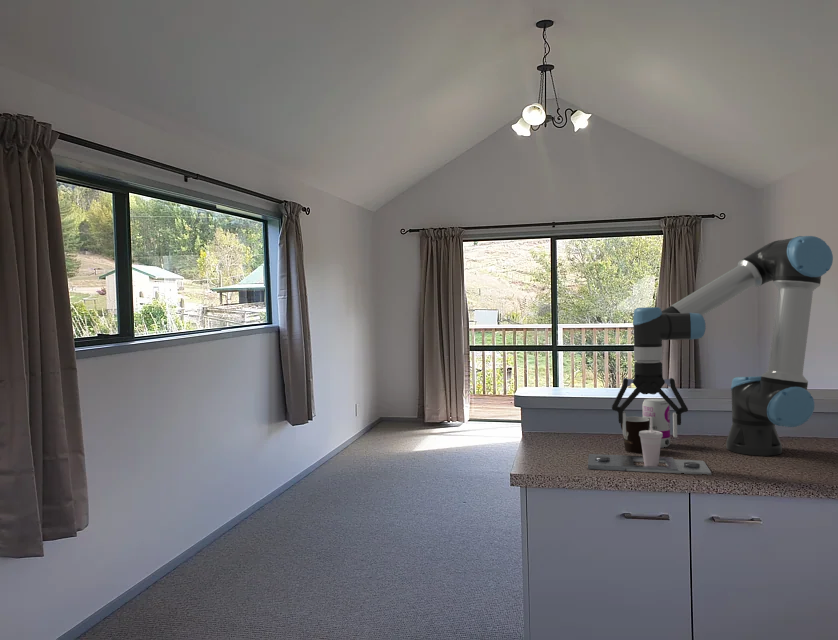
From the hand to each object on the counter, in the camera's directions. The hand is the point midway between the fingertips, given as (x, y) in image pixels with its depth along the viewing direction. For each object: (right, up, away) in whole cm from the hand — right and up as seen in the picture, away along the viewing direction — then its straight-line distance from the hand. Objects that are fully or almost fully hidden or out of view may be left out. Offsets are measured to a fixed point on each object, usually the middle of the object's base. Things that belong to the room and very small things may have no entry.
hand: (649, 435), depth 174 cm
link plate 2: (+4, -9, -1) cm, 10 cm away
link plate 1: (-5, -9, +2) cm, 10 cm away
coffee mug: (+3, -8, +20) cm, 22 cm away
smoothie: (+1, -9, 0) cm, 9 cm away
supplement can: (+12, -8, +25) cm, 29 cm away
